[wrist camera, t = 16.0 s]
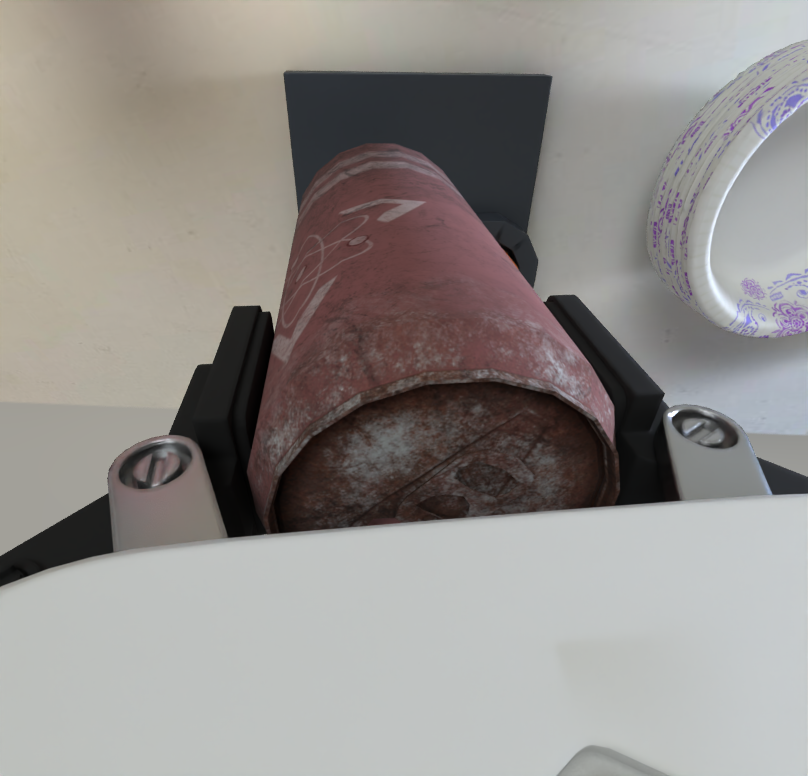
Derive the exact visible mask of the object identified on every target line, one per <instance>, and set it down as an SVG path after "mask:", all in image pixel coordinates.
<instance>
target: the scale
mask: <svg viewBox="0 0 808 776" xmlns="http://www.w3.org/2000/svg"><path fill="white" fill-rule="evenodd" d="M284 83H285V92H286V101H287V111H288V120H289V129H290V139H291V148H292V157H293V167H294V176H295V186H296V195H297V204H298V214H299V210H300V205H301V201H302V196H303V194H304V192H305V191H306V189H307V187H308V186H309V184H310V182H311V181H312V179H313V177H314V176H315V174H316V172H317V171H318V170H319V169H321V168H322V167H323V166H324V165H325V164H327V163H328V162H329V161H330V160H332V159H333V158H334V157H335V156H336V155H338V154H339V153H341V152H344V151H347V150H349V149H352V148H355V147H358V146H361V145H363V144H366V143H395V144H398V145H400V146H403V147H406V148H409V149H412V150H414V151H417V152H420V153H422V154H423V155H424V156H426V157H427V158H428V159H429V160H430V161H432V162H433V163H434V164H435V165H436V166H438V167H439V168H440V169H441V170H443V172H444V173H445V174H446V176H447V177H448V178H449V180H450V181H451V182H452V183H453V185H454V186H455V187H456V189H457V190H458V191H459V193H460V194H461V195H462V197H463V198H464V199H465V201H466V202H467V203H468V204H469V206H470V207H471V208H472V210H473V211H474V212H475V214H476V215H477V216H478V218H479V219H480V220H481V221H482V223H483V224H484V225H485V227H486V228H487V229H488V231H489V232H490V233H491V235H492V236H493V237H494V239H495V240H496V241H497V242H498V244H499V245H500V246H501V248H502V249H503V250H504V251H506V252H507V254H508V255H509V256H510V258H511V259H512V260H513V262H514V263H515V264H516V266H517V267H518V269H519V271H520V273H521V274H522V275H523V277H524V278H525V279H526V281H527V282H528V283H529V284H530V286H531V287H532V288H533V287H534V282H535V277H536V271H537V266H538V258H537V256H536V253H535V251H534V248H533V246H532V243H531V241H530V238H529V236H528V235H527V234H526V233H527V227H528V221H529V215H530V209H531V203H532V197H533V191H534V185H535V179H536V173H537V167H538V161H539V155H540V149H541V143H542V137H543V131H544V125H545V119H546V113H547V107H548V101H549V95H550V89H551V83H552V76H550V75H545V74H498V73H425V72H352V71H285V72H284Z"/></svg>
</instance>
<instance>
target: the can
mask: <svg viewBox="0 0 808 776" xmlns="http://www.w3.org/2000/svg"><path fill="white" fill-rule="evenodd" d="M247 475H248V479H249V483H250V487H251V492H252V496H253V500H254V504H255V508H256V513H257V514H258V516H259V518H260V520H261V522H262V524H263V526H264V527H265V529H266V532H267V535H268V534H280V533H291V532H303V531H314V530H326V529H338V528H349V527H361V526H372V525H384V524H396V523H407V522H419V521H431V520H444V519H456V518H468V517H480V516H493V515H505V514H518V513H530V512H543V511H555V510H568V509H581V508H594V507H608V506H614V504H615V502H616V500H617V497H618V495H619V492H620V478H619V456H618V452H617V450H616V438H615V417H614V405H613V403H612V401H611V400H610V398H609V396H608V394H607V392H606V391H605V389H604V387H603V385H602V384H601V382H600V380H599V378H598V376H597V375H596V373H595V371H594V369H593V367H592V366H591V364H590V363H589V362H588V361H587V359H586V358H585V357H584V355H583V354H582V353H581V351H580V350H579V349H578V347H577V346H576V345H575V343H574V342H573V341H572V340H571V338H570V337H569V336H568V334H567V333H566V332H565V330H564V329H563V328H562V326H561V325H560V324H559V322H558V321H557V320H556V319H555V317H554V316H553V315H552V313H551V312H550V311H549V309H548V308H547V307H546V305H545V304H544V303H543V302H542V300H541V299H540V298H539V296H538V295H537V294H536V292H535V291H534V290H533V288H532V287H531V286H530V284H529V283H528V282H527V281H526V279H525V278H524V277H523V275H522V274H521V273H520V271H519V270H518V269H517V267H516V266H515V265H514V263H513V262H512V261H511V260H510V258H509V257H508V256H507V254H506V253H505V252H504V250H503V249H502V248H501V246H500V245H499V244H498V242H497V241H496V240H495V239H494V237H493V236H492V235H491V233H490V232H489V231H488V229H487V228H486V227H485V225H484V224H483V223H482V221H481V220H480V219H479V218H478V216H477V215H476V214H475V212H474V211H473V210H472V208H471V207H470V206H469V204H468V203H467V202H466V201H465V199H464V198H463V197H462V195H461V194H460V193H459V191H458V190H457V189H456V187H455V186H454V185H453V183H452V182H451V181H450V180H449V178H448V177H447V176H446V174H445V173H444V172H443V170H441V169H440V168H439V167H438V166H436V165H435V164H434V163H433V162H432V161H430V160H429V159H428V158H427V157H426V156H424V155H423V154H422V153H420V152H417V151H414V150H412V149H409V148H406V147H403V146H400V145H398V144H395V143H366V144H363V145H361V146H358V147H355V148H352V149H349V150H347V151H344V152H341V153H339V154H338V155H336V156H335V157H334V158H333V159H332V160H330V161H329V162H328V163H327V164H325V165H324V166H323V167H322V168H321V169H319V170H318V171H317V172H316V174H315V176H314V177H313V179H312V181H311V182H310V184H309V186H308V187H307V189H306V191H305V192H304V194H303V196H302V201H301V205H300V210H299V215H298V219H297V224H296V229H295V234H294V239H293V244H292V249H291V254H290V259H289V264H288V269H287V274H286V279H285V284H284V289H283V294H282V299H281V304H280V309H279V314H278V319H277V324H276V329H275V334H274V339H273V344H272V349H271V354H270V359H269V364H268V369H267V374H266V379H265V384H264V389H263V394H262V399H261V404H260V409H259V414H258V419H257V424H256V429H255V434H254V439H253V444H252V449H251V454H250V458H249V463H248V468H247Z"/></svg>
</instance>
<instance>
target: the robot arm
mask: <svg viewBox="0 0 808 776" xmlns="http://www.w3.org/2000/svg"><path fill="white" fill-rule="evenodd" d="M543 303H544V304H545V305H546V307H547V308H548V309H549V311H550V312H551V313H552V315H553V316H554V317H555V319H556V320H557V321H558V322H559V324H560V325H561V326H562V328H563V329H564V330H565V332H566V333H567V334H568V336H569V337H570V338H571V340H572V341H573V342H574V343H575V345H576V346H577V347H578V349H579V350H580V351H581V353H582V354H583V355H584V357H585V358H586V359H587V361H588V362H589V363H590V364H591V366H592V367H593V369H594V371H595V373H596V375H597V376H598V378H599V380H600V382H601V384H602V385H603V387H604V389H605V391H606V392H607V394H608V396H609V398H610V400H611V401H612V403H613V405H614V417H615V438H616V450H617V452H618V456H619V478H620V492H619V495H618V497H617V500H616V502H615V504H614V506H608V507H594V508H581V509H568V510H555V511H543V512H530V513H518V514H505V515H493V516H480V517H468V518H456V519H444V520H431V521H419V522H407V523H396V524H384V525H372V526H361V527H349V528H338V529H326V530H314V531H303V532H291V533H280V534H268V535H264V534H267V532H266V529H265V527H264V526H263V524H262V522H261V520H260V518H259V516H258V514H257V513H256V508H255V504H254V500H253V496H252V492H251V487H250V483H249V479H248V475H247V468H248V463H249V458H250V454H251V449H252V444H253V439H254V434H255V429H256V424H257V419H258V414H259V409H260V404H261V399H262V394H263V389H264V384H265V379H266V374H267V369H268V364H269V359H270V354H271V349H272V344H273V339H274V329H273V322H272V317H271V313H270V312H262V309H261V307H260V306H234V307H233V309H232V312H231V315H230V317H229V320H228V323H227V326H226V328H225V331H224V334H223V336H222V339H221V342H220V345H219V347H218V350H217V353H216V356H215V358H214V361H213V364H201V365H198V366H197V368H196V369H195V372H194V374H193V377H192V379H191V381H190V384H189V386H188V389H187V391H186V394H185V396H184V398H183V401H182V403H181V406H180V408H179V411H178V413H177V415H176V418H175V420H174V423H173V425H172V428H171V430H170V433H169V435H163V436H159V437H154V438H150V439H147V440H144V441H142V442H139V443H137V444H135V445H133V446H132V447H130V448H128V449H126V450H125V451H124V452H123V453H122V454H120V455H119V456H118V457H117V458H116V459H115V460H114V462H113V464H112V465H111V467H110V469H109V473H108V478H107V479H108V491H109V493H108V494H106V495H104V496H103V497H101V498H99V499H97V500H96V501H94V502H92V503H91V504H89V505H87V506H85V507H84V508H82V509H80V510H79V511H77V512H75V513H73V514H72V515H70V516H68V517H67V518H65V519H63V520H61V521H60V522H58V523H56V524H55V525H53V526H51V527H49V528H48V529H46V530H44V531H43V532H41V533H39V534H37V535H36V536H34V537H32V538H31V539H29V540H27V541H25V542H24V543H22V544H20V545H19V546H17V547H15V548H14V549H12V550H10V551H8V552H7V553H5V554H4V555H2V556H0V776H808V477H806V476H804V475H801V474H799V473H796V472H794V471H791V470H788V469H786V468H783V467H781V466H778V465H776V464H773V463H771V462H768V461H766V460H763V459H761V458H758V457H756V455H755V453H754V450H753V448H752V446H751V443H750V441H749V439H748V436H747V435H746V433H745V432H744V430H743V429H742V427H741V426H739V425H738V424H737V423H736V422H735V421H734V420H732V419H731V418H729V417H727V416H725V415H724V414H722V413H720V412H717V411H715V410H712V409H710V408H706V407H702V406H698V405H687V404H683V405H675V406H673V407H670V408H669V407H668V406H667V405H666V403H665V402H664V401H663V400H662V399H663V397H664V394H665V393H664V392H663V391H662V390H661V389H660V388H659V386H658V385H657V384H656V383H655V382H654V381H653V380H652V379H651V378H650V377H649V375H648V374H647V373H646V372H645V371H644V370H643V369H642V368H641V367H640V366H639V364H638V363H637V362H636V361H635V360H634V359H633V358H632V357H631V356H630V354H629V353H628V352H627V351H626V350H625V349H624V348H623V347H622V346H621V345H620V343H619V342H618V341H617V340H616V339H615V338H614V337H613V336H612V335H611V334H610V332H609V331H608V330H607V329H606V328H605V327H604V326H603V325H602V324H601V323H600V321H599V320H598V319H597V318H596V317H595V316H594V315H593V314H592V313H591V311H590V310H589V309H588V308H587V307H586V306H585V305H584V304H583V303H582V302H581V300H580V299H579V298H578V297H577V296H576V295H553V296H550V297H548V299H547V301H546V302H543Z"/></svg>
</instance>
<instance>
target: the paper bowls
mask: <svg viewBox="0 0 808 776" xmlns="http://www.w3.org/2000/svg"><path fill="white" fill-rule="evenodd" d="M666 159H667V160H666V161H665V162H664V164H663V166H662V170H661V172H660V175H659V178H658V181H657V183H656V185H655V188H654V191H653V195H652V199H651V204H650V208H649V211H648V221H647V248H648V252H649V256H650V259H651V262H652V264H653V267H654V269H655V271H656V273H657V275H658V276H659V278H660V279H661V281H662V282H663V283H664V284H665V285H666V286H667V287H668V289H669V290H670V291H672V292H673V293H674V294H675V295H676V296H677V297H679V298H680V299H681V300H682V301H684V302H685V303H686V304H687V305H688V306H689V307H691V308H693V309H694V310H695V311H697V312H698V313H700V314H701V315H703V316H704V317H706V318H707V319H708V320H709V321H710V322H712V323H713V324H715V325H716V326H718V327H719V328H721V329H724V330H726V331H728V332H732V333H735V334H739V335H743V336H748V337H755V338H776V337H784V336H790V335H795V334H799V333H803V332H806V331H808V40H804V41H801V42H797V43H794V44H791V45H789V46H787V47H785V48H783V49H780V50H778V51H776V52H774V53H772V54H770V55H768V56H766V57H764V58H763V59H761V60H760V61H758V62H756V63H754V64H752V65H751V66H750V67H748V68H747V69H746V70H745V71H743V72H741V73H739V74H738V76H737V77H736V78H735V79H734V80H732V81H730V82H729V83H728V84H727V85H726V86H724V87H723V88H722V89H721V90H720V91H719V92H718V93H717V94H715V95H714V96H713V97H712V98H711V99H710V100H709V101H708V102H707V103H706V104H705V106H704V107H703V108H702V109H701V110H700V111H699V112H698V113H697V114H696V116H695V118H694V119H693V120H692V121H691V122H690V123H689V124H688V125H687V127H686V129H685V130H684V131H683V133H682V134H681V135H680V136H679V138H678V139H677V142H676V143H675V145H674V146H673V148H672V150H671V151H670V152H669V155H668V156H667V158H666Z"/></svg>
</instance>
